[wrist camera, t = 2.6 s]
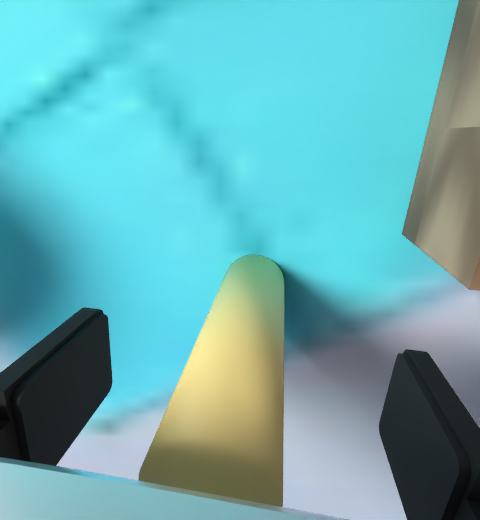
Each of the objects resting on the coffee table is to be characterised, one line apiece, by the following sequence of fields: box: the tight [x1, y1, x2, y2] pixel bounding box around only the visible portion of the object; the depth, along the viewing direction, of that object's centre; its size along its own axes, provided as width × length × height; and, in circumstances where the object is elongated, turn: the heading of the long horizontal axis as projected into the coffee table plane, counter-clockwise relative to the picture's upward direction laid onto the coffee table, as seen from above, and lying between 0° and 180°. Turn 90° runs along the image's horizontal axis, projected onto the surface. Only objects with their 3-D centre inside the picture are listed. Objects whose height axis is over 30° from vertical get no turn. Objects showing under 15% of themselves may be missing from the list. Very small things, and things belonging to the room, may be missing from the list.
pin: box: [139, 255, 284, 507], centre depth 11 cm, size 3×3×10 cm
